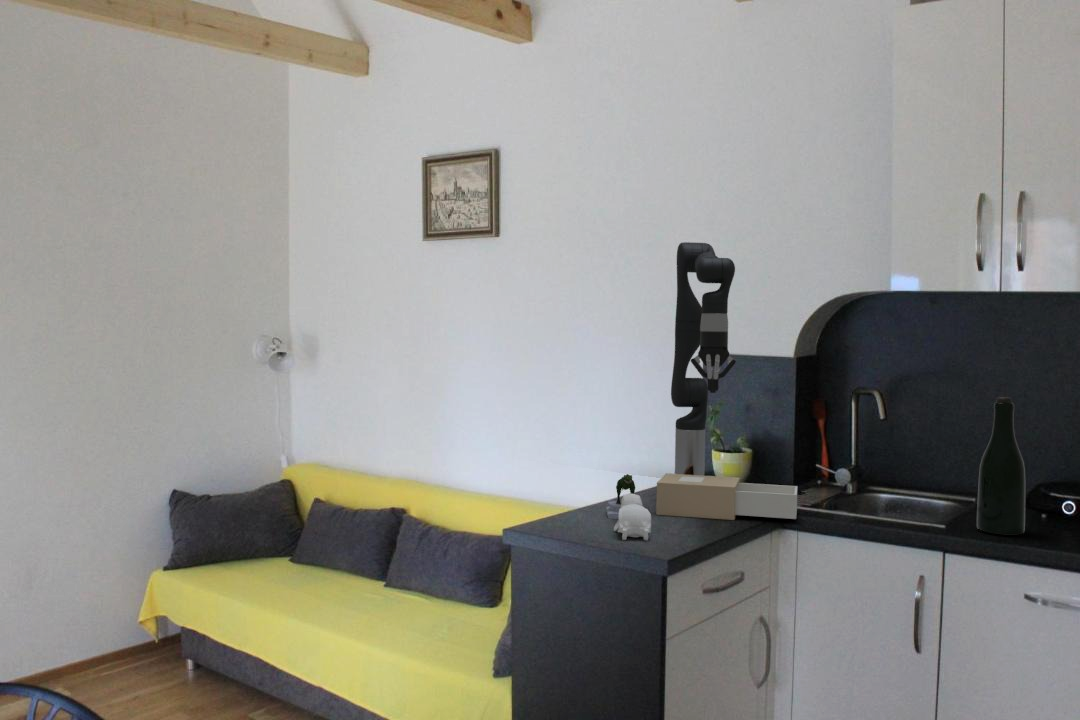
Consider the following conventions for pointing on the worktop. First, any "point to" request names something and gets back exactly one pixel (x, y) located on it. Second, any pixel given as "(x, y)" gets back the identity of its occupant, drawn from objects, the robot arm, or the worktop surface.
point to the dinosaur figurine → (615, 505)
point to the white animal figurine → (633, 518)
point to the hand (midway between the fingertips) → (712, 392)
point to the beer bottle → (1002, 477)
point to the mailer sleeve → (697, 496)
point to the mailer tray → (766, 500)
